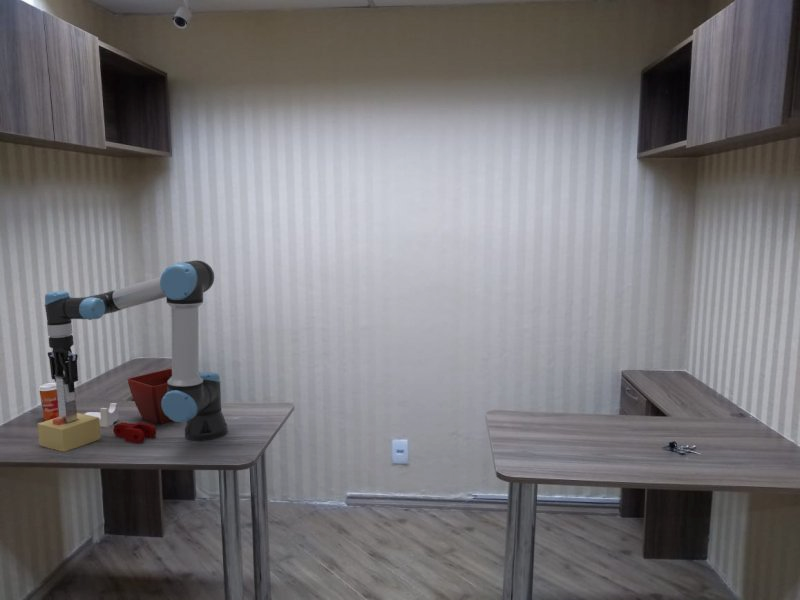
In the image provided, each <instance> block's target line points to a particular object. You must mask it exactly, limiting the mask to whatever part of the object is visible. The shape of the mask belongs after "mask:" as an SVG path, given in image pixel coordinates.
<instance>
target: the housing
mask: <svg viewBox="0 0 800 600" xmlns="http://www.w3.org/2000/svg"><path fill="white" fill-rule="evenodd" d="M37 432H38V433H37V434H38V443H39V446H40V447H44V448H48V449H51V450H54V449H55V451H58V450H59V452H62V451H63V452H62V453H66V452H68V450H69V451H71V450H73V448H74V449H77V448H79V447H82V446H85V445H89V444H91V443H93V442H96V441H98V440H101V437H102V436H101V435H102V434H101V427H100V423H99V417H94V416H90V415H85V413H80V412H77V421H74V422H71V423H68V424H64V421H63V419H60V418H59V417H57V418H54V419H51V420H48V421H45V420H44V421H43V422H38V423H37ZM70 449H71V450H70ZM65 451H66V452H65Z"/></svg>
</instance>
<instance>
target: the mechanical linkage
mask: <svg viewBox="0 0 800 600" xmlns="http://www.w3.org/2000/svg"><path fill="white" fill-rule="evenodd" d="M112 429H113V434H114V435H115V436H116V438H123V439H124V442H128V443H133V444H141V443H143V442H144V441H145V439H153V438H154V437H156V435H157V428H156V426H155V425H153V424H152V423H147V422H140V421H139V422H136V423H131V422H130V423H129V422H123V421H122V422H118V423H117V424H114V425H113V428H112Z"/></svg>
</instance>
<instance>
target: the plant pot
mask: <svg viewBox="0 0 800 600" xmlns="http://www.w3.org/2000/svg"><path fill="white" fill-rule="evenodd" d="M171 377H172V368H165V369H162V370H159V371H155V372H149V373H145V374H141V375H138V376H132V377H129V378H127V383H128V387H129V391H130V394H131V397H132V399H133V401H134V404H135V405H136V406H135V407H136V408H137V410H138V413H139V414H140V416H141V418H142V419H144V420H146V421H148V422H151V423H154V424H157V425H162V424H166V423H168V422H171V421H173V420H171V419H169V417H168V416H166V415H165V414H164V412H163V410H162V406H161V402H162V399H163V397H164V395H165V394H166V393H167V382H168V380H169V379H170V378H171Z"/></svg>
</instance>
